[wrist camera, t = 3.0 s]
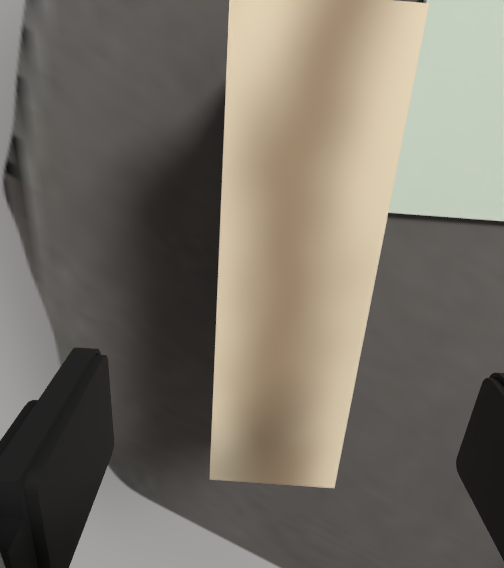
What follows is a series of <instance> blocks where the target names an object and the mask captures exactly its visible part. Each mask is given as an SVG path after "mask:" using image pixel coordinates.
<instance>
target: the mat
mask: <svg viewBox="0 0 504 568" xmlns="http://www.w3.org/2000/svg"><path fill="white" fill-rule="evenodd" d="M423 3H429V7H428V12H427V17H426V23H425V28H424V33H423V38H422V43H421V48H420V53H419V58H418V63H417V68H416V74H415V79H414V84H413V89H412V94H411V99H410V104H409V109H408V114H407V120H406V125H405V130H404V135H403V140H402V145H401V150H400V155H399V160H398V165H397V171H396V176H395V181H394V186H393V191H392V196H391V201H390V206H389V211H388V213H399V214H412V215H426V216H439V217H453V218H467V219H480V220H494V221H504V0H424V2H423Z"/></svg>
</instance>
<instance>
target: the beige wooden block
mask: <svg viewBox="0 0 504 568" xmlns="http://www.w3.org/2000/svg"><path fill="white" fill-rule="evenodd" d="M428 7H429V3H419V2H406V1H393V0H230V1H229V25H228V49H227V73H226V97H225V121H224V145H223V169H222V193H221V217H220V241H219V265H218V289H217V313H216V337H215V361H214V385H213V409H212V433H211V457H210V479H211V480H225V481H239V482H254V483H268V484H282V485H296V486H311V487H325V488H334V487H335V482H336V477H337V472H338V467H339V461H340V456H341V451H342V446H343V441H344V436H345V431H346V426H347V421H348V415H349V410H350V405H351V400H352V395H353V390H354V385H355V380H356V375H357V370H358V364H359V359H360V354H361V349H362V344H363V339H364V334H365V329H366V324H367V319H368V313H369V308H370V303H371V298H372V293H373V288H374V283H375V278H376V273H377V267H378V262H379V257H380V252H381V247H382V242H383V237H384V232H385V227H386V222H387V216H388V211H389V206H390V201H391V196H392V191H393V186H394V181H395V176H396V171H397V165H398V160H399V155H400V150H401V145H402V140H403V135H404V130H405V125H406V120H407V114H408V109H409V104H410V99H411V94H412V89H413V84H414V79H415V74H416V68H417V63H418V58H419V53H420V48H421V43H422V38H423V33H424V28H425V23H426V17H427V12H428Z"/></svg>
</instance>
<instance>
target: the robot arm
mask: <svg viewBox="0 0 504 568" xmlns="http://www.w3.org/2000/svg"><path fill="white" fill-rule="evenodd" d="M113 446H114V435H113V421H112V408H111V394H110V381H109V367H108V358H107V356H106V355H101V353H100V351H99V349H91V348H74V349H73V350H72V351H71V352H70V354H69V355H68V357H67V358H66V360H65V361H64V363H63V364H62V366H61V367H60V369H59V370H58V372H57V373H56V375H55V376H54V378H53V379H52V381H51V382H50V384H49V385H48V386H47V388H46V389H45V391H44V392H43V394H42V395H41V397H40V398H39V400H32V401H30V402H28V403H27V404H26V406H25V407H24V408H23V409H22V411H21V412H20V414H19V415H18V417H17V418H16V419H15V421H14V422H13V424H12V425H11V427H10V428H9V429H8V431H7V432H6V433H5V435H4V436H3V438H2V439H1V441H0V568H69V565H70V563H71V560H72V558H73V555H74V552H75V550H76V547H77V545H78V542H79V539H80V537H81V534H82V531H83V529H84V526H85V523H86V521H87V518H88V516H89V513H90V510H91V508H92V505H93V502H94V500H95V497H96V494H97V492H98V489H99V487H100V484H101V481H102V479H103V476H104V474H105V470H106V468H107V466H108V463H109V460H110V458H111V455H112V451H113ZM456 466H457V471H458V474H459V476H460V478H461V480H462V482H463V484H464V486H465V488H466V489H467V491H468V493H469V495H470V497H471V499H472V501H473V503H474V505H475V507H476V509H477V511H478V512H479V514H480V516H481V518H482V520H483V522H484V524H485V526H486V528H487V530H488V532H489V533H490V535H491V537H492V539H493V541H494V543H495V545H496V547H497V549H498V551H499V553H500V555H501V556H502V558H503V560H504V373H493V374H492V375H491V376H490V377H489V378H486V379H485V380H484V381H483V383H482V385H481V388H480V391H479V394H478V397H477V400H476V403H475V406H474V409H473V412H472V415H471V418H470V421H469V424H468V427H467V429H466V432H465V435H464V438H463V441H462V444H461V447H460V450H459V453H458V456H457V460H456Z"/></svg>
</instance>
